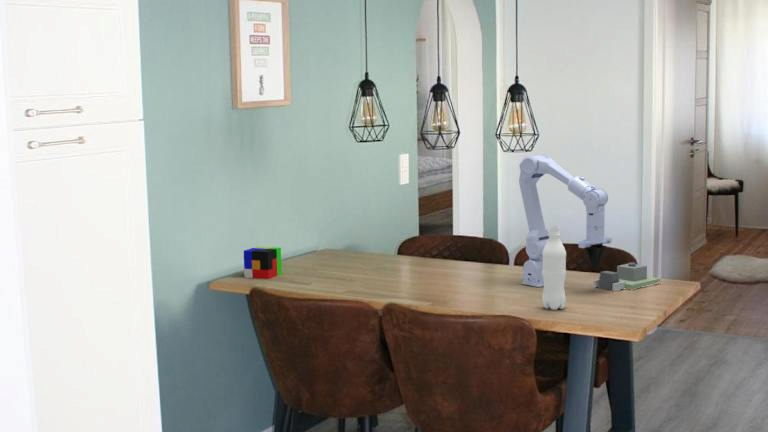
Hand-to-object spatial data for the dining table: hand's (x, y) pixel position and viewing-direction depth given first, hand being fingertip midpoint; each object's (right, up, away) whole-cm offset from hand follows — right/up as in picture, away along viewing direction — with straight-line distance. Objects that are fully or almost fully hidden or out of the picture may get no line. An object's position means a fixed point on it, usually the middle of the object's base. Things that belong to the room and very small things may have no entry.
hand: (595, 267), depth 313 cm
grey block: (+6, -7, +6) cm, 11 cm away
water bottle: (-17, -11, -22) cm, 30 cm away
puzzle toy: (-114, -5, +39) cm, 120 cm away
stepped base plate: (+12, -7, +10) cm, 17 cm away
